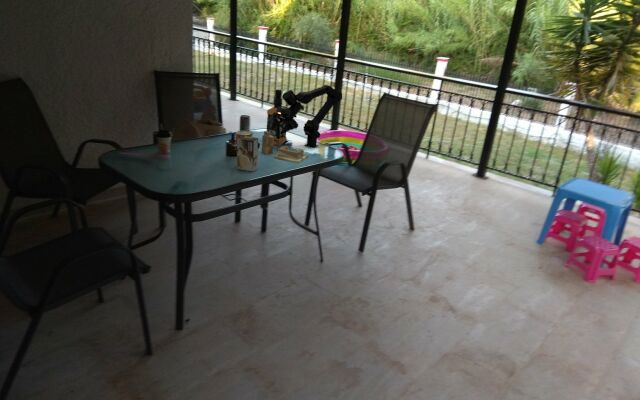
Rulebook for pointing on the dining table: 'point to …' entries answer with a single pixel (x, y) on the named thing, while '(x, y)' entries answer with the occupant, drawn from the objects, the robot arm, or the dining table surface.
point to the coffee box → (247, 153)
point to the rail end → (267, 143)
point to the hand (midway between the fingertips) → (275, 131)
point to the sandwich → (290, 155)
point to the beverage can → (243, 134)
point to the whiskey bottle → (278, 137)
